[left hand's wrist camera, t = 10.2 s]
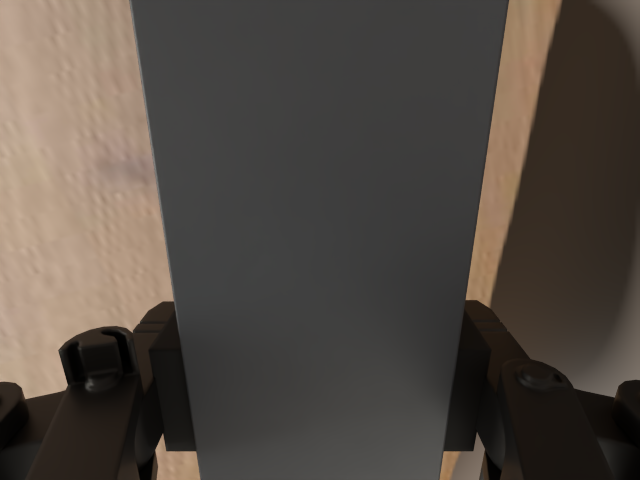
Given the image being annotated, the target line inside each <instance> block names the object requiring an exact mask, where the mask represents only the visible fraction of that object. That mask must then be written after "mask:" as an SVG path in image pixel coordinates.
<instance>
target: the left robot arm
mask: <svg viewBox="0 0 640 480" xmlns="http://www.w3.org/2000/svg"><path fill="white" fill-rule="evenodd" d="M58 351H59V354H60V358H61V362H62V365H63V369H64V372H65V376H66V380H67V383H68V386H67V388H66V390H65V391H61V392H58V393H53V394H48V395H44V396H39V397H34V398H30V399H25V397H24V394H23V391H22V388H21V387H20V386H18V385H17V384H16V383H11V382H0V480H156V479H157V470H158V464H157V457H156V452H155V449H156V447H157V445H158V443H159V440H160V438H161V436H162V434H163V435H164V440H165V446H166V451H196V445H195V438H194V432H193V425H192V418H191V412H190V405H189V398H188V391H187V385H186V378H185V371H184V365H183V358H182V351H181V344H180V338H179V331H178V324H177V317H176V311H175V304H174V302H161V303H160V304H158V305H157V306H155V307H154V308H152V309H151V310H149V311H148V312H147V313H146V315H145V316H144V317H143V319H142V320H141V321H140V324H138V325H137V326H136V327H135V329H134V330H133V333H132V332H131V331H129V330H128V329H127V328H123V327H118V326H109V327H100V328H96V329H92V330H88V331H86V332H83V333H81V334H78V335H76V336H75V337H73V338H72V339H70V340H68V341H67V342H65V343H64V345H63V346H62V347H61V348H60V349H59V350H58ZM477 432H478V435H479V437H480V439H481V441H482V443H483V445H484V448H485V452H484V457H483V462H482V468H481V473H480V478H479V480H640V380H631V381H625V382H623V383H622V384H621V385H619V387H618V390H617V393H616V396H615V398H614V397H609V396H605V395H600V394H595V393H590V392H586V391H581V390H577V389H574V388H573V386H572V384H571V383H570V381H569V380H568V379H567V377H566V376H565V375H563V374H562V373H561V372H560V371H558V370H557V369H555V368H554V367H551V366H549V365H547V364H545V363H543V362H539V361H535V360H532V359H530V358H529V357H528V355H527V354H526V353H525V351H524V350H523V349H522V348H521V346H520V345H519V344H518V343H517V341H516V340H515V339H514V338H513V336H512V335H511V334H510V332H507V329H506V327H505V326H504V325H503V324H502V322H500V320H499V319H498V317H497V316H496V315H495V313H494V312H493V311H492V310H491V309H490V308H488V307H487V306H485V305H484V304H482V303H480V302H479V301H477V300H465V307H464V313H463V320H462V327H461V334H460V341H459V348H458V355H457V362H456V369H455V375H454V382H453V389H452V396H451V403H450V410H449V417H448V424H447V431H446V437H445V444H444V451H473V450H474V444H475V439H476V433H477Z"/></svg>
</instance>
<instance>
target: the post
mask: <svg viewBox="0 0 640 480" xmlns="http://www.w3.org/2000/svg"><path fill="white" fill-rule="evenodd" d="M129 2H130V8H131V15H132V22H133V28H134V35H135V42H136V49H137V55H138V62H139V69H140V75H141V82H142V89H143V96H144V102H145V109H146V116H147V123H148V129H149V136H150V143H151V149H152V156H153V163H154V170H155V176H156V183H157V190H158V196H159V203H160V210H161V217H162V223H163V230H164V237H165V244H166V250H167V257H168V264H169V270H170V277H171V284H172V291H173V297H174V304H175V311H176V317H177V324H178V331H179V338H180V344H181V351H182V358H183V365H184V371H185V378H186V385H187V391H188V398H189V405H190V412H191V418H192V425H193V432H194V438H195V445H196V452H197V459H198V465H199V472H200V479H201V480H439V479H440V472H441V465H442V458H443V451H444V444H445V437H446V431H447V424H448V417H449V410H450V403H451V396H452V389H453V382H454V375H455V369H456V362H457V355H458V348H459V341H460V334H461V327H462V320H463V313H464V307H465V300H466V293H467V286H468V279H469V272H470V265H471V258H472V251H473V245H474V238H475V231H476V224H477V217H478V210H479V203H480V196H481V189H482V183H483V176H484V169H485V162H486V155H487V148H488V141H489V134H490V127H491V121H492V114H493V107H494V100H495V93H496V86H497V79H498V72H499V66H500V59H501V52H502V45H503V38H504V31H505V24H506V17H507V10H508V4H509V0H129Z"/></svg>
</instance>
